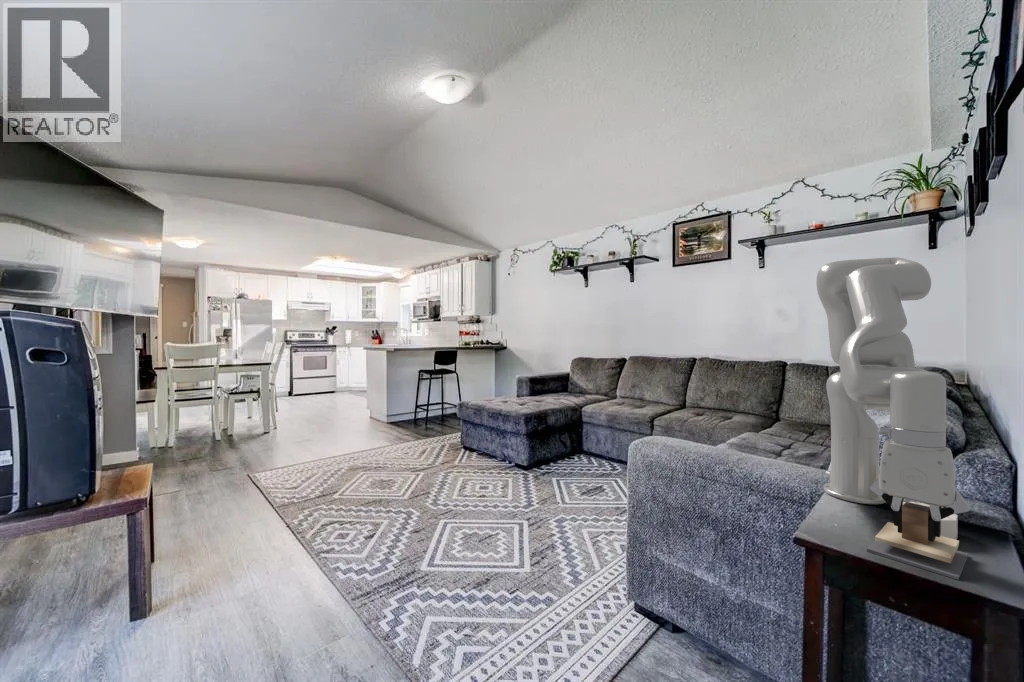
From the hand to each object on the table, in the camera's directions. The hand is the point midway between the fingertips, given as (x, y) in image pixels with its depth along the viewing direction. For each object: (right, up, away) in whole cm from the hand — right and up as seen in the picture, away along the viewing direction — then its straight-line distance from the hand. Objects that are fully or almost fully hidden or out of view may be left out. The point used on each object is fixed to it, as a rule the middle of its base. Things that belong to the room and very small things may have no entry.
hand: (916, 533), depth 79 cm
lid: (0, -2, 0) cm, 2 cm away
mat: (0, -4, 0) cm, 4 cm away
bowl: (+10, -3, +8) cm, 13 cm away
